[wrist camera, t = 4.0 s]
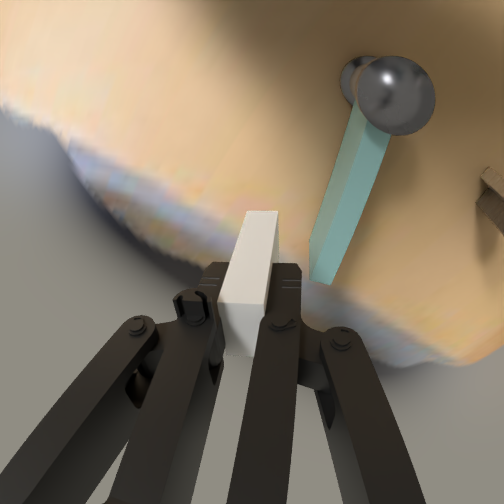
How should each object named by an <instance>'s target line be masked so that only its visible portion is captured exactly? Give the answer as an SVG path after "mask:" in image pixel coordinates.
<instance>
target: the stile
mask: <svg viewBox="0 0 504 504" xmlns="http://www.w3.org/2000/svg"><path fill="white" fill-rule="evenodd" d="M481 178H482V179H483V181H484V182H485V183H486V184H487V186H488V187H489V188H488V189H487V190H486V191H485V192H484V193H483V195H482V196H481V197H480V198H479V199H478V200H477V201H476V204H477V205H478V206H479V207H480V209H481V210H482V211H483V212H484V213H485V215H486V216H487V217H488V218H489V219H490V220H491V222H492V223H493V224H494V225H495V226H496V227H497V229H498V230H499V231H500V232H501V233H502V235H503V236H504V178H503V177H502V176H500V175H499V174H498V173H497V172H495V171H494V170H493V169H492V168H490V167H488V168H487V169H486V171H485V172H484V173H483V174H482V175H481Z"/></svg>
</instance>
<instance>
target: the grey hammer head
mask: <svg viewBox="0 0 504 504" xmlns="http://www.w3.org/2000/svg"><path fill="white" fill-rule="evenodd" d="M363 64H366V65H365V66H364V67H363V68H362V69H361V71H360V72H359V74H358V76H357V79H356V83H355V97H354V96H353V95H352V93H351V90H350V85H349V81H350V77H351V74H352V72H353V71H354V70H355V69H356V68H357V67H358V66H360V65H363ZM340 86H341V90H342V93H343V95H344V97H345V98H346V100H347V101H348V102H349V103H350V104H351V105H352V106H353V104H354V101H355V98H356V102H357V105H358V107H359V109H360V111H361V113H362V114H363V116H364V117H365V118H366V119H367V120H368V121H369V122H370V123H371V124H372V125H373V126H374V127H376V128H377V129H379V130H381V131H382V132H385V133H387V134H391V135H408V134H412V133H414V132H416V131H418V130H419V129H421V128H422V127H423V126H424V125H425V124H426V123H427V122H428V121H429V119H430V117H431V115H432V113H433V110H434V106H435V92H434V87H433V84H432V82H431V80H430V78H429V76H428V75H427V73H426V72H425V71H424V70H423V69H422V68H421V67H420V66H419V65H418V64H416V63H415V62H413V61H411V60H409V59H407V58H403V57H399V56H383V57H379V58H376V57H372V56H362V57H358V58H355V59H353V60H351V61H350V62H349V63H348V64H347V65H346V66H345V67H344V69H343V71H342V73H341V77H340Z"/></svg>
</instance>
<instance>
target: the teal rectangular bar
mask: <svg viewBox="0 0 504 504" xmlns="http://www.w3.org/2000/svg"><path fill="white" fill-rule="evenodd" d="M365 65H366V64H363V65H360V66H358V67H357V68H356V69H355V70H354V71H353V72H352V74H351V77H350V81H349V85H350V90H351V93H352V95H353V96H354V97H355V83H356V79H357V76H358V74H359V72H360V71H361V69H362V68H363V67H364V66H365ZM390 137H391V134H387V133H385V132H382V131H381V130H379V129H377V128H376V127H374V126H373V125H372V124H371V123H370V122H369V121H368V120H367V119H366V118H365V117H364V116H363V114H362V113H361V111H360V109H359V107H358V105H357V102H356V98H355V101H354V104H353V108H352V111H351V114H350V118H349V121H348V124H347V128H346V131H345V134H344V137H343V140H342V144H341V147H340V150H339V153H338V156H337V159H336V163H335V166H334V169H333V172H332V175H331V178H330V181H329V184H328V187H327V190H326V193H325V196H324V199H323V202H322V205H321V208H320V211H319V214H318V217H317V219H316V222H315V225H314V228H313V231H312V234H311V237H310V239H309V262H310V280H311V281H315V282H319V283H323V284H327V285H331V283H332V281H333V279H334V277H335V275H336V272H337V270H338V268H339V266H340V264H341V261H342V259H343V257H344V254H345V252H346V250H347V248H348V245H349V243H350V241H351V238H352V236H353V233H354V231H355V229H356V226H357V224H358V221H359V219H360V217H361V214H362V212H363V209H364V207H365V204H366V202H367V199H368V197H369V194H370V192H371V189H372V186H373V184H374V181H375V178H376V176H377V173H378V170H379V168H380V165H381V162H382V160H383V157H384V154H385V151H386V148H387V146H388V143H389V140H390Z"/></svg>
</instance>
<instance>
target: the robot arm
mask: <svg viewBox="0 0 504 504" xmlns="http://www.w3.org/2000/svg"><path fill="white" fill-rule="evenodd" d="M278 262H279V230H278V211H247V213H246V216H245V219H244V222H243V225H242V228H241V231H240V234H239V237H238V240H237V243H236V246H235V249H234V252H233V255H232V258H231V261H230V262H212V263H211V264H210V265H209V266H208V267H207V268H206V269H205V271H204V274H203V276H202V279H201V281H200V283H199V286H198V288H192V289H187V290H184V291H181V292H180V293H178V294H177V295H176V296H175V297H174V298H173V303H174V306H175V310H176V313H177V317H178V318H177V320H175V321H172V322H166V323H160V324H155V322H154V321H153V319H152V318H150V317H148V316H143V315H140V316H134V317H132V318H130V319H128V320H127V321H126V322H124V323H123V324H122V325H121V327H120V328H119V329H118V330H117V331H116V332H115V333H114V335H113V336H112V337H111V338H110V339H109V340H108V341H107V343H106V344H105V345H104V346H103V347H102V348H101V349H100V351H99V352H98V353H97V354H96V355H95V356H94V358H93V359H92V360H91V361H90V362H89V363H88V365H87V366H86V367H85V368H84V369H83V371H82V372H81V373H80V374H79V375H78V377H77V378H76V379H75V380H74V381H73V382H72V384H71V385H70V386H69V387H68V389H67V390H66V391H65V392H64V393H63V394H62V396H61V397H60V398H59V399H58V401H57V402H56V403H55V404H54V406H53V407H52V408H51V409H50V411H49V412H48V413H47V414H46V416H45V417H44V418H43V419H42V421H41V422H40V423H39V424H38V426H37V427H36V428H35V429H34V431H33V432H32V433H31V434H30V436H29V437H28V438H27V440H26V441H25V442H24V443H23V445H22V446H21V447H20V449H19V450H18V451H17V453H16V454H15V455H14V457H13V458H12V459H11V460H10V462H9V463H8V464H7V466H6V467H5V469H4V470H3V471H2V473H1V474H0V504H85V503H86V502H87V500H88V499H89V497H90V496H91V494H92V493H93V491H94V490H95V488H96V487H97V486H98V484H99V483H100V481H101V480H102V478H103V477H104V475H105V474H106V472H107V471H108V469H109V468H110V467H111V465H112V464H113V462H114V461H115V459H116V458H117V456H118V455H119V453H120V452H121V450H122V449H123V448H124V446H125V444H126V443H127V442H128V444H127V447H126V449H125V452H124V455H123V458H122V460H121V463H120V466H119V469H118V472H117V474H116V478H115V481H114V483H113V486H112V489H111V492H110V495H109V497H108V499H107V501H106V502H105V503H103V504H190V503H191V500H192V496H193V492H194V487H195V483H196V479H197V475H198V471H199V467H200V463H201V458H202V455H203V450H204V446H205V442H206V438H207V434H208V430H209V426H210V421H211V417H212V413H213V409H214V405H215V401H216V397H217V392H218V389H219V385H220V380H221V376H222V372H223V368H224V361H223V353H224V349H226V354H227V355H233V356H246V357H254V359H253V365H252V371H251V376H250V382H249V388H248V393H247V399H246V404H245V410H244V415H243V421H242V426H241V431H240V436H239V442H238V447H237V452H236V457H235V462H234V467H233V473H232V478H231V483H230V488H229V493H228V498H227V503H226V504H286V501H287V492H288V484H289V474H290V464H291V454H292V442H293V432H294V419H295V405H296V393H297V384H299V385H303V386H305V387H309V388H312V389H314V392H315V395H316V399H317V403H318V407H319V410H320V414H321V418H322V422H323V426H324V429H325V433H326V437H327V441H328V445H329V449H330V452H331V456H332V460H333V464H334V468H335V472H336V476H337V480H338V484H339V488H340V492H341V496H342V500H343V504H426V502H425V499H424V496H423V493H422V490H421V487H420V484H419V482H418V479H417V476H416V473H415V470H414V468H413V465H412V462H411V459H410V457H409V454H408V451H407V448H406V446H405V443H404V440H403V438H402V435H401V433H400V430H399V427H398V425H397V422H396V420H395V417H394V415H393V412H392V410H391V407H390V405H389V402H388V400H387V397H386V395H385V393H384V390H383V388H382V385H381V383H380V381H379V378H378V376H377V374H376V371H375V369H374V366H373V364H372V362H371V360H370V357H369V355H368V353H367V350H366V348H365V346H364V344H363V341H362V339H361V337H360V336H359V335H358V333H357V332H355V331H354V330H352V329H350V328H346V327H334V328H331V329H328V330H327V331H326V332H324V333H323V332H320V331H316V330H314V329H311V328H310V327H308V326H307V325H306V324H305V323H304V322H303V321H302V319H301V314H300V313H301V278H302V271H301V269H300V268H299V266H298V265H297V263H278ZM128 440H129V441H128Z"/></svg>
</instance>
